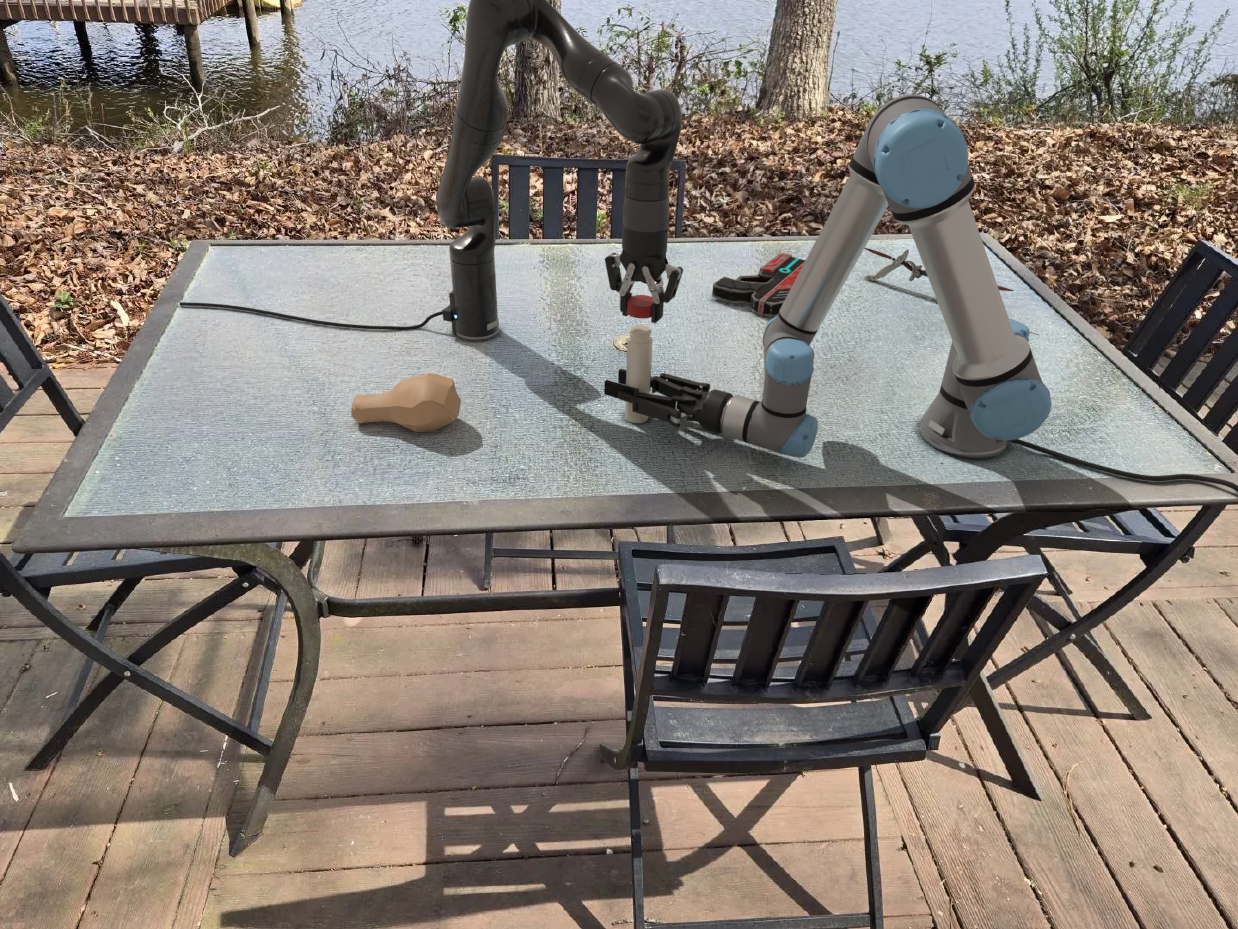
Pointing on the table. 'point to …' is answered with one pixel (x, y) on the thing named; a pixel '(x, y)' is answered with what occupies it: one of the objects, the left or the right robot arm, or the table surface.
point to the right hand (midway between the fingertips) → (612, 381)
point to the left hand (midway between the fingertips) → (641, 317)
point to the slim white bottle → (638, 367)
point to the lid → (640, 306)
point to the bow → (901, 261)
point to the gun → (762, 285)
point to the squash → (412, 404)
